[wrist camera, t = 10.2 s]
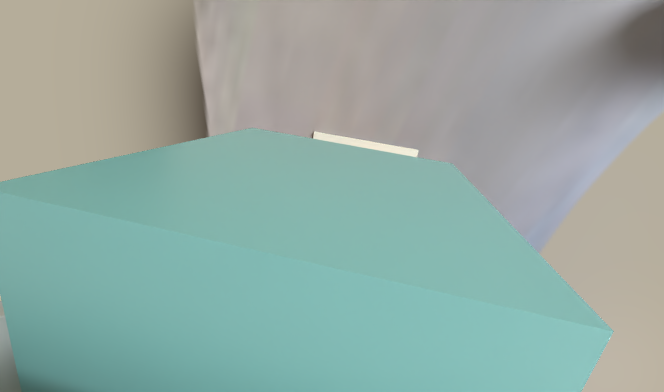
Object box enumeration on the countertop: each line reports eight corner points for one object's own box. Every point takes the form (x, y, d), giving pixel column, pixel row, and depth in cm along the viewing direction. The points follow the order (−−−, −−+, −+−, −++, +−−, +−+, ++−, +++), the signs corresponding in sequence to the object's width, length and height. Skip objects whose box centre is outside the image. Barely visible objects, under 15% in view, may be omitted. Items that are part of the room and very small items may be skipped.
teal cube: (252, 127, 12) (-24, 186, 4) (452, 163, 11) (614, 331, 3) (241, 292, 15) (53, 537, 7) (405, 332, 14) (428, 676, 6)
